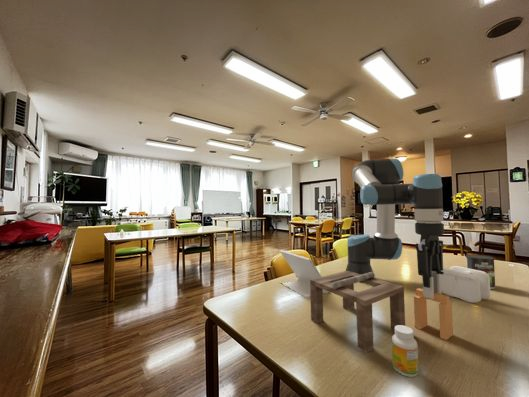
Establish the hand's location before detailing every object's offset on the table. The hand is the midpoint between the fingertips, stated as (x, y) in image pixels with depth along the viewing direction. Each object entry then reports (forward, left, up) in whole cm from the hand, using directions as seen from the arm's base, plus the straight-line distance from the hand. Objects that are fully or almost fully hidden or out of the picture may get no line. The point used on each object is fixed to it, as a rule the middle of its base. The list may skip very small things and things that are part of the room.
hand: (432, 295), depth 73 cm
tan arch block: (0, 0, -11) cm, 11 cm away
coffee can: (-6, +65, -11) cm, 66 cm away
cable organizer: (-5, +41, -11) cm, 43 cm away
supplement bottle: (+4, -25, -11) cm, 28 cm away
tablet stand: (-54, -6, -12) cm, 56 cm away
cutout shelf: (-16, -17, -11) cm, 26 cm away
